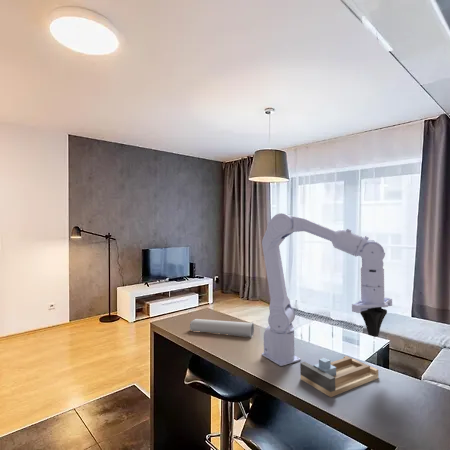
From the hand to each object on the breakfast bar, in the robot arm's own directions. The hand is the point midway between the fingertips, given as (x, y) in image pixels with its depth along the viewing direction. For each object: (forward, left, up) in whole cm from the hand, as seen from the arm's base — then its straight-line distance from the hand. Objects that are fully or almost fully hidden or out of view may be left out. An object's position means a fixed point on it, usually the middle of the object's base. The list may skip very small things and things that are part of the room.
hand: (373, 335), depth 82 cm
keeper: (-3, -15, -9) cm, 18 cm away
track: (-3, -10, -10) cm, 15 cm away
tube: (-50, -21, -11) cm, 55 cm away
